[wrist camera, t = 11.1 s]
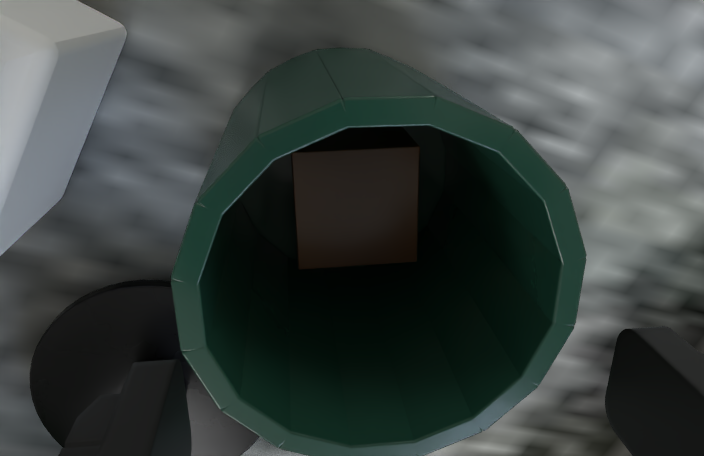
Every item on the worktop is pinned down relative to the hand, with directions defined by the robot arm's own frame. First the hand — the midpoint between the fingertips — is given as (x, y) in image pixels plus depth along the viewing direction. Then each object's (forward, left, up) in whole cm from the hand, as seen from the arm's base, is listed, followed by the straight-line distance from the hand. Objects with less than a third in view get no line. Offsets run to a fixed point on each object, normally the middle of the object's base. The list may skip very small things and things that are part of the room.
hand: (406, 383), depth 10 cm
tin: (0, 0, -13) cm, 13 cm away
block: (0, 0, -13) cm, 13 cm away
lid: (-8, -9, -13) cm, 17 cm away
